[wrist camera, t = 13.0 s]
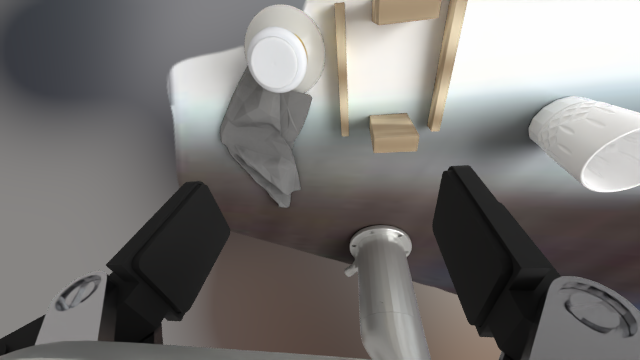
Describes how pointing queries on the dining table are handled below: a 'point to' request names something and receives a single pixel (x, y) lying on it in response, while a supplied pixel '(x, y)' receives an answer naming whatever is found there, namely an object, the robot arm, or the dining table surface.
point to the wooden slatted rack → (397, 129)
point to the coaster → (297, 25)
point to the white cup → (591, 142)
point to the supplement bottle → (277, 59)
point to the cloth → (265, 135)
